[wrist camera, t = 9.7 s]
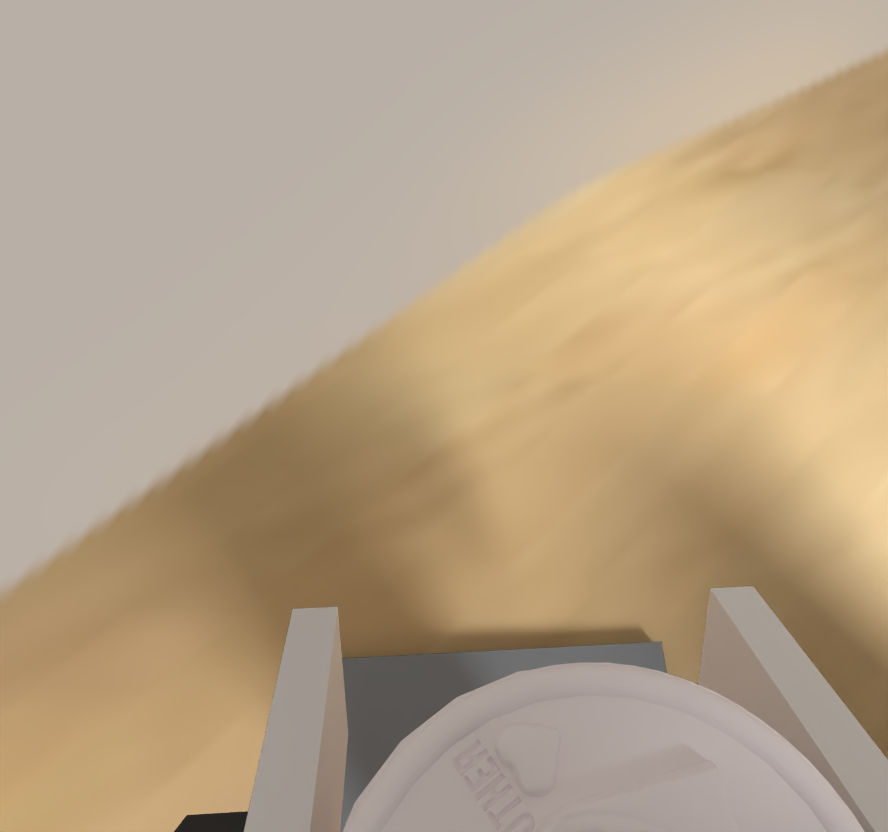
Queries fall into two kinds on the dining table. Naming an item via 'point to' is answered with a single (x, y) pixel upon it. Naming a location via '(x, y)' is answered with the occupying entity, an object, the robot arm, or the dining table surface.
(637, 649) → the coaster
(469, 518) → the dining table surface
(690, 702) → the smoothie
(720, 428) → the dining table surface
